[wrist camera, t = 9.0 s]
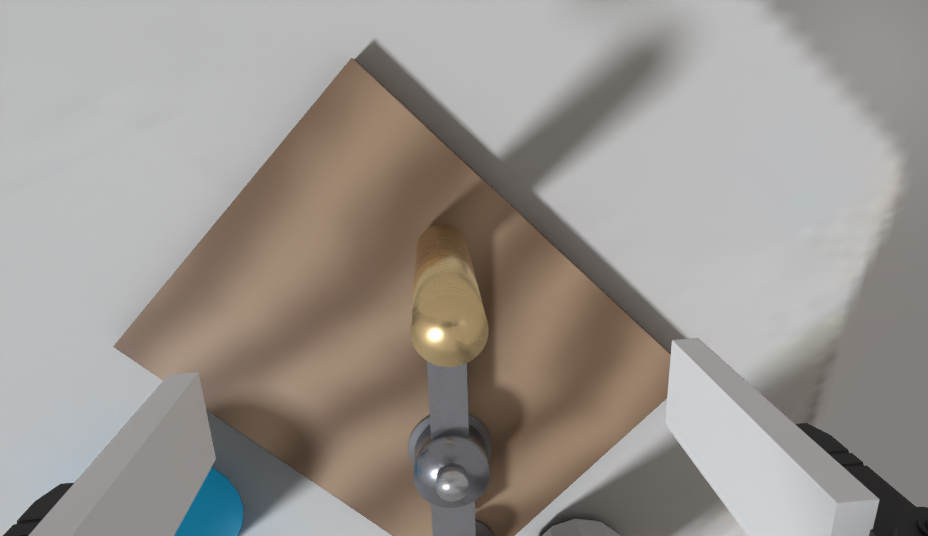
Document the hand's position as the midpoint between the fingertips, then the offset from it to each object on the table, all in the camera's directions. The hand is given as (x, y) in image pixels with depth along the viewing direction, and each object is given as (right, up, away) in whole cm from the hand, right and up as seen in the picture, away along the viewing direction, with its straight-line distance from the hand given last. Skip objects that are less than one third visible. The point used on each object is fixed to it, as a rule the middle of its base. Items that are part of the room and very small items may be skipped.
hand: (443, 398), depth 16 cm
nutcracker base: (-2, -1, +19) cm, 19 cm away
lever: (0, -3, +18) cm, 18 cm away
